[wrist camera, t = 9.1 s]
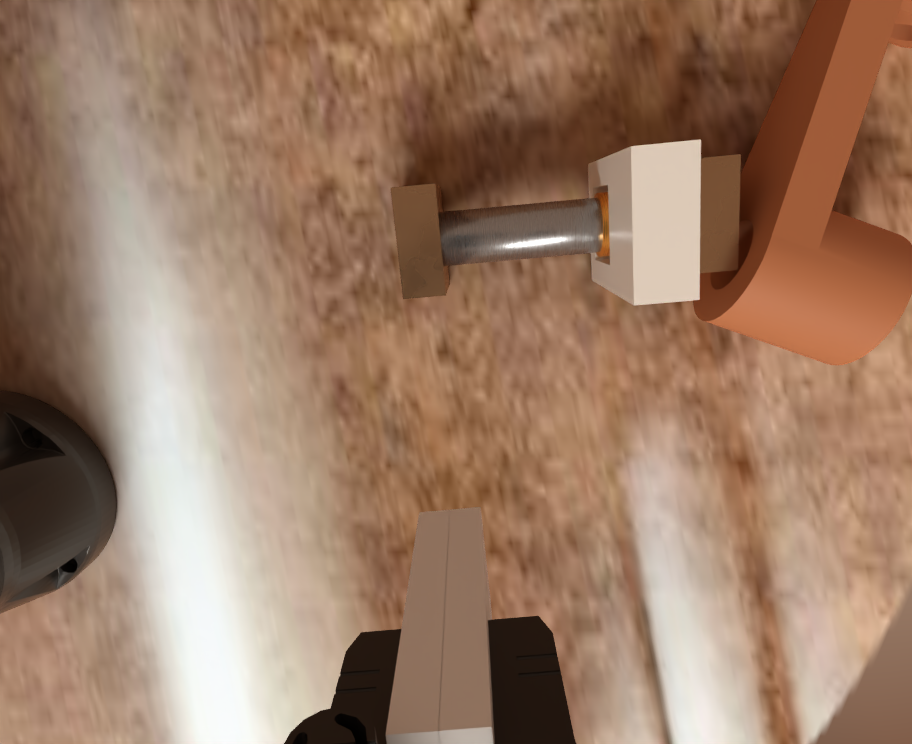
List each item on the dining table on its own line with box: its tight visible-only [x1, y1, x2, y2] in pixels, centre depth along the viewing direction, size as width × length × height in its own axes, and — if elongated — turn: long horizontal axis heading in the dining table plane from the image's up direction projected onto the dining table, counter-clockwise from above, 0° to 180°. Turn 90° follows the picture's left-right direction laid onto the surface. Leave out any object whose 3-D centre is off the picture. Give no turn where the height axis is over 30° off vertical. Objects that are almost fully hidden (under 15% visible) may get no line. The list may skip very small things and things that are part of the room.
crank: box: [693, 0, 912, 365], centre depth 34 cm, size 20×8×8 cm, turn 161°
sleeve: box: [588, 139, 701, 305], centre depth 33 cm, size 3×7×11 cm, turn 5°
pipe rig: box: [391, 154, 741, 299], centre depth 36 cm, size 18×6×6 cm, turn 95°
